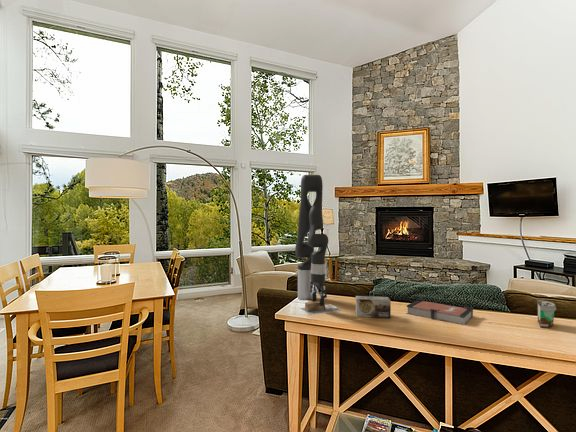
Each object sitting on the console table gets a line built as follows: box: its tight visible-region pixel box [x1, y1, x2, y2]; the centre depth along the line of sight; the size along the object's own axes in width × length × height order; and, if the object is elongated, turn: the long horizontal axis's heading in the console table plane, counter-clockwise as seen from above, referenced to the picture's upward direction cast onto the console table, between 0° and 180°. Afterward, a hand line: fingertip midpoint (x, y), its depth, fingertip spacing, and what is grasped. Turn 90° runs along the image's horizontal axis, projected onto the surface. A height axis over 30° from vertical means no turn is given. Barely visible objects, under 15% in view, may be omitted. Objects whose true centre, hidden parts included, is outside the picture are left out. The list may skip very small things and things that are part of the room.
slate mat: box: [300, 307, 342, 316], centre depth 172 cm, size 12×18×1 cm, turn 112°
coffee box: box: [355, 295, 392, 319], centre depth 163 cm, size 9×6×16 cm
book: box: [406, 297, 474, 326], centre depth 164 cm, size 26×18×5 cm
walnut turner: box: [304, 300, 338, 313], centre depth 172 cm, size 16×7×4 cm, turn 112°
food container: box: [537, 299, 557, 329], centre depth 148 cm, size 12×6×10 cm, turn 148°
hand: (318, 303), depth 172 cm, fingers open, 8 cm apart
